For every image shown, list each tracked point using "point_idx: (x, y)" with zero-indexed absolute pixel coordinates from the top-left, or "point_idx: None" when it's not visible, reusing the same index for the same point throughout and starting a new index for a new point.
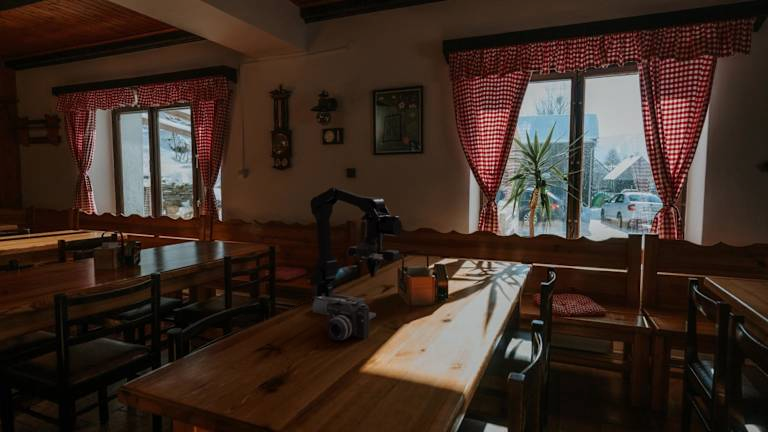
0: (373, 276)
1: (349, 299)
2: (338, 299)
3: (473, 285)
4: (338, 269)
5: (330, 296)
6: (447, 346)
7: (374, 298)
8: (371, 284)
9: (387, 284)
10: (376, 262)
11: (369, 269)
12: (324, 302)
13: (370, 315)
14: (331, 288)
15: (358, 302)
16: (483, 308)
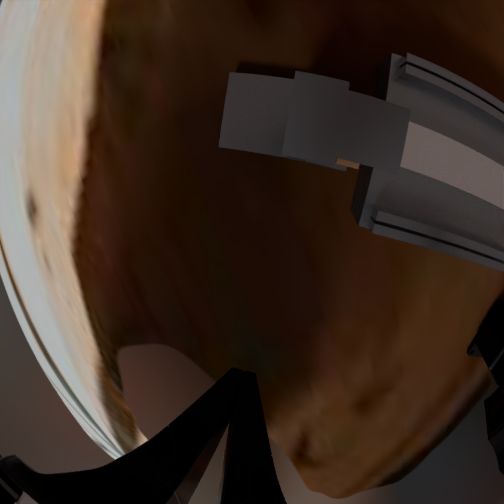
0: (228, 375)
1: (380, 101)
2: (460, 167)
3: None
4: (490, 442)
5: (501, 248)
6: (14, 39)
7: (317, 386)
8: (350, 464)
9: (308, 469)
10: (77, 473)
11: (253, 437)
12: (499, 103)
13: (231, 98)
14: (490, 360)
15: (296, 72)
16: (37, 326)
